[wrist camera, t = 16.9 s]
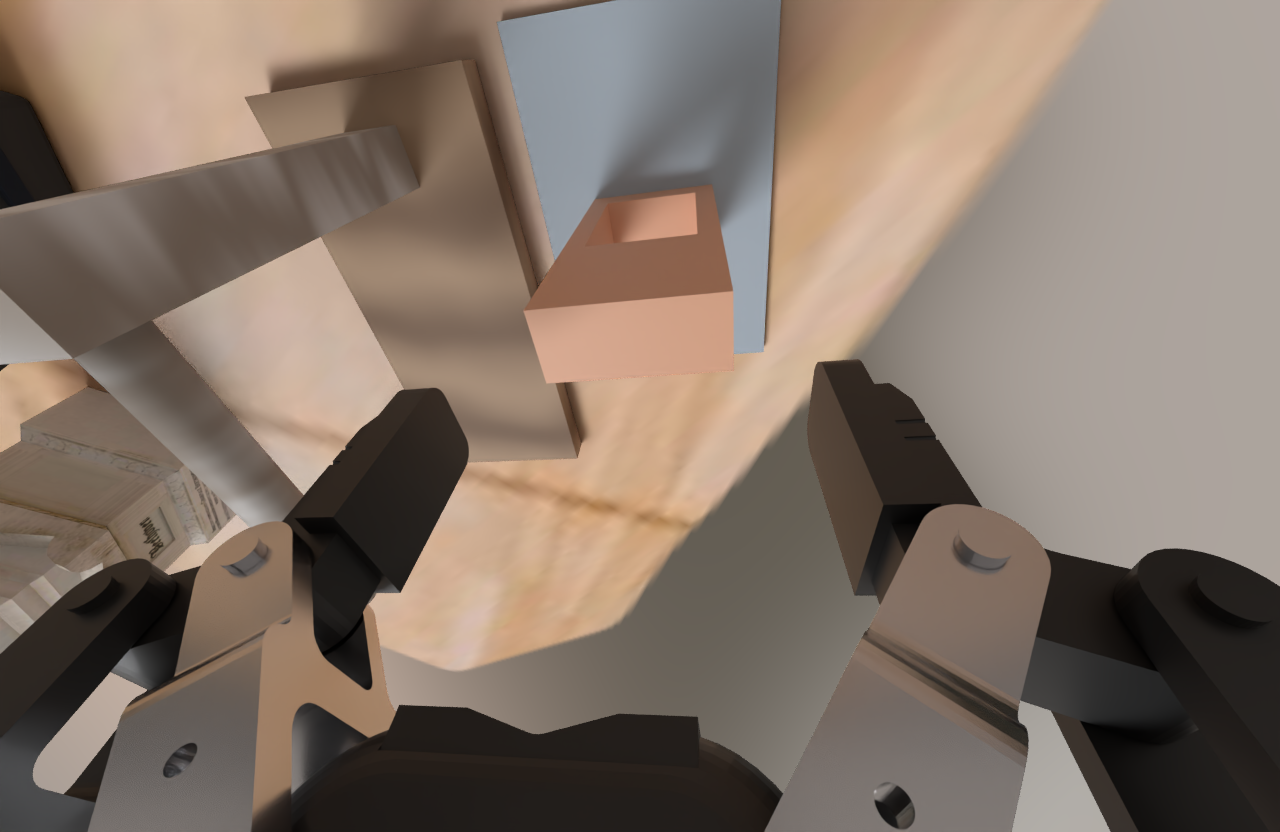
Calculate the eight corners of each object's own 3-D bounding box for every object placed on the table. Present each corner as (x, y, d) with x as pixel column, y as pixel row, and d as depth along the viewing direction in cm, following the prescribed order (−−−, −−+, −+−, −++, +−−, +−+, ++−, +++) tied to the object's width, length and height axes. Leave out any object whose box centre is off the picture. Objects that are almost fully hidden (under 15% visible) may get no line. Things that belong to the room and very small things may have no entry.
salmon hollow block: (594, 199, 22) (523, 310, 12) (712, 184, 21) (733, 291, 11) (603, 249, 23) (546, 383, 14) (713, 236, 22) (733, 371, 13)
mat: (500, 22, 18) (496, 21, 18) (780, -29, 17) (782, -31, 16) (581, 359, 28) (580, 364, 28) (762, 347, 27) (763, 352, 26)
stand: (269, 94, 20) (-464, 163, 7) (474, 59, 19) (15, 67, 6) (453, 449, 34) (306, 695, 21) (581, 444, 33) (510, 704, 19)
